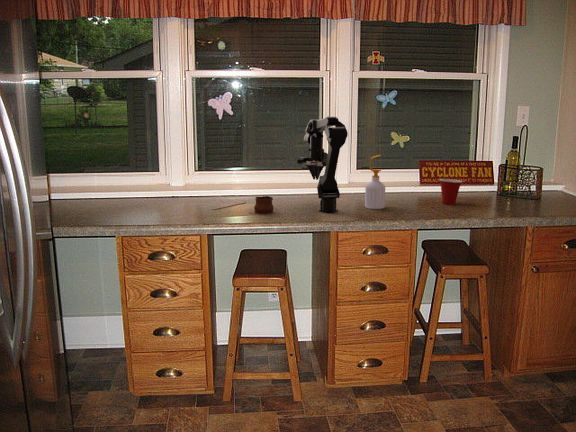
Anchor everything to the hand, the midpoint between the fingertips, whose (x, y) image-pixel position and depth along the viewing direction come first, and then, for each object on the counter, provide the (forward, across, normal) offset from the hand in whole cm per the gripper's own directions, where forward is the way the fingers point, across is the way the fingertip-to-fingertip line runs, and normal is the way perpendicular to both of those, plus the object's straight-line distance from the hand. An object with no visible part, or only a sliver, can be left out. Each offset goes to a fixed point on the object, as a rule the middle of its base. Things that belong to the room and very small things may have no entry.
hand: (315, 179), depth 259 cm
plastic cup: (+12, -50, -42) cm, 66 cm away
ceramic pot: (+13, +8, +29) cm, 33 cm away
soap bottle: (+12, -26, -11) cm, 31 cm away
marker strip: (+12, +29, +29) cm, 43 cm away
